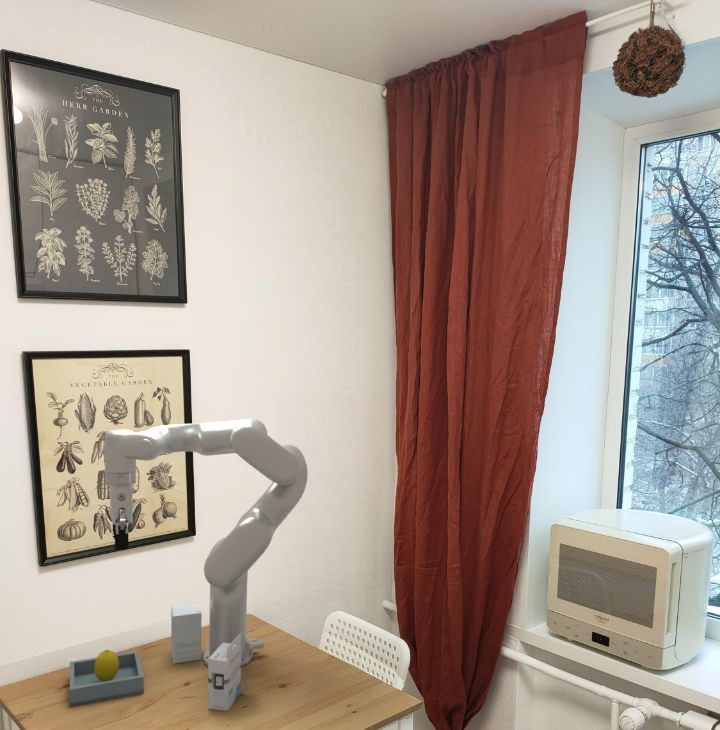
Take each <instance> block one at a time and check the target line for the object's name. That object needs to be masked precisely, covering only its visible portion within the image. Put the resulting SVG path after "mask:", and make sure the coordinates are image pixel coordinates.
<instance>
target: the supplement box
mask: <svg viewBox="0 0 720 730" xmlns="http://www.w3.org/2000/svg"><path fill="white" fill-rule="evenodd" d="M170 607H171V609H170V610H171V613H170V614H171V617H170V618H171V623H170V624H171V625H170V626H171V627H170V631H171V633H170V634H171V636H170V637H171V638H170V642H171V643H170V644H171V646H170V652H171V657H172V664H179V663H185V662H186V663H187V662H194V661H199V660H202V622H203V621H202V616H203V615H202V611H201V608H200V607H201V606H200V604H199V602H192V603H185V604H176V605H171V606H170Z"/></svg>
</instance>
